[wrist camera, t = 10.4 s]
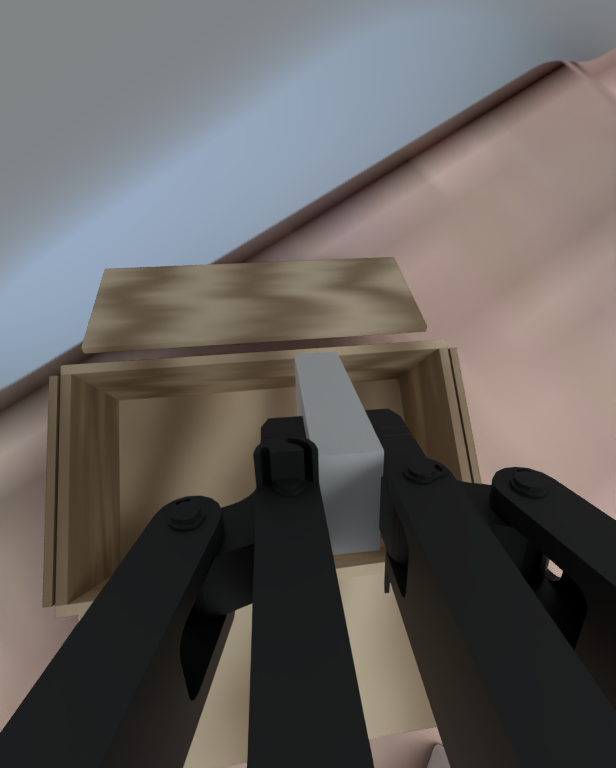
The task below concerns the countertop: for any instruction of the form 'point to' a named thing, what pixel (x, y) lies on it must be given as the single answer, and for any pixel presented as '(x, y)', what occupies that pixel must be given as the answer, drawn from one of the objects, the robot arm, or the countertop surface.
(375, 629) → the carton
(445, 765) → the medicine bottle
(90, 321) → the flap
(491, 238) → the countertop surface
